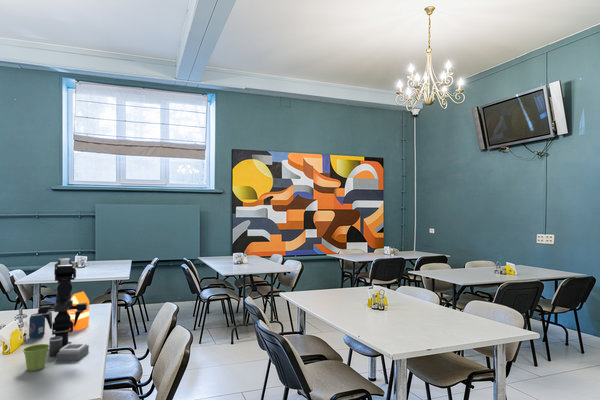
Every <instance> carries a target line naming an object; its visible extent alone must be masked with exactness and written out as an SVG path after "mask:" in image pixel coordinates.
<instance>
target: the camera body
mask: <svg viewBox="0 0 600 400" xmlns="http://www.w3.org/2000/svg"><path fill="white" fill-rule="evenodd" d="M89 346H90V345H88V344H87V343H70V344H67V345H66V346H64V347H62V349H60V350H59V353H57V355H56V357H55V358H56V359H55V360H56V363H62V362H63V363H66V362H69V363H70V362H71V363H72V362H79V361H80V360H81V359H83V358H84V357H85V356H86V355H87V354H88V353H89V349H90V347H89Z"/></svg>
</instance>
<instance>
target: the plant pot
mask: <svg viewBox="0 0 600 400" xmlns="http://www.w3.org/2000/svg"><path fill="white" fill-rule="evenodd" d="M22 352H23V354H24V356H25V357H24V358H25V364H26V371H29V372H30V371H31V372H34V371H38V370H40V369H44V368H45V366H46V365H45V364H46V358H47V353H48V352H49V344H47V343H45V344H44V343H40V344H39V343H37V344H33V345H29V346H26V347H24V348H23V349H22Z"/></svg>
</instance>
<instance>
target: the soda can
mask: <svg viewBox="0 0 600 400" xmlns="http://www.w3.org/2000/svg"><path fill="white" fill-rule="evenodd" d="M41 315H42V314H38V312H37V313H33V314H31V315H30V317H29V319H28V320H29V325H28V337H29V339H31V340H39V339H43V337H44V336H45V334H46V332H45V331H46V318H45V317H44V316H41Z"/></svg>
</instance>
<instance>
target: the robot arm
mask: <svg viewBox="0 0 600 400" xmlns="http://www.w3.org/2000/svg"><path fill="white" fill-rule="evenodd" d="M53 272H54V282H56V300H55V302H54V305H53V306H52V305H41V306H39V308H38V309H37V313H38V314H42V315H41V316H44V317H45V320H46V321H47V324H48V327H49V329H50V330H51V336H53V335H54V337H55V336H62V348H63V347H64V346H66V345H67V344H72V341H69V335H70V334H71V333H73V332H74V330H73V326H74V327H75V326H76V323H77V320H78V318H79V316H80V314H81V313H82V312H84V311H85V310H87V309H88V304H87V303H78V304H77V305H73V300H72V299H71V298H72V290H73V283H72V281H75V279H76V278H77V269H76V267H75V265H74V263H73V262H72V261H71V258H69V257H65V258H62V257H61V258H58V262H56V263H55V264H54V271H53ZM74 309H76V310H77V311H76V312H75V320H74V323H73V321H72V320H71V317H70V315H69V314H68V312H67V310H74ZM53 312H54V313H57V314H56V315H55V317H54V320H53V315H52V314H53Z"/></svg>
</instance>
